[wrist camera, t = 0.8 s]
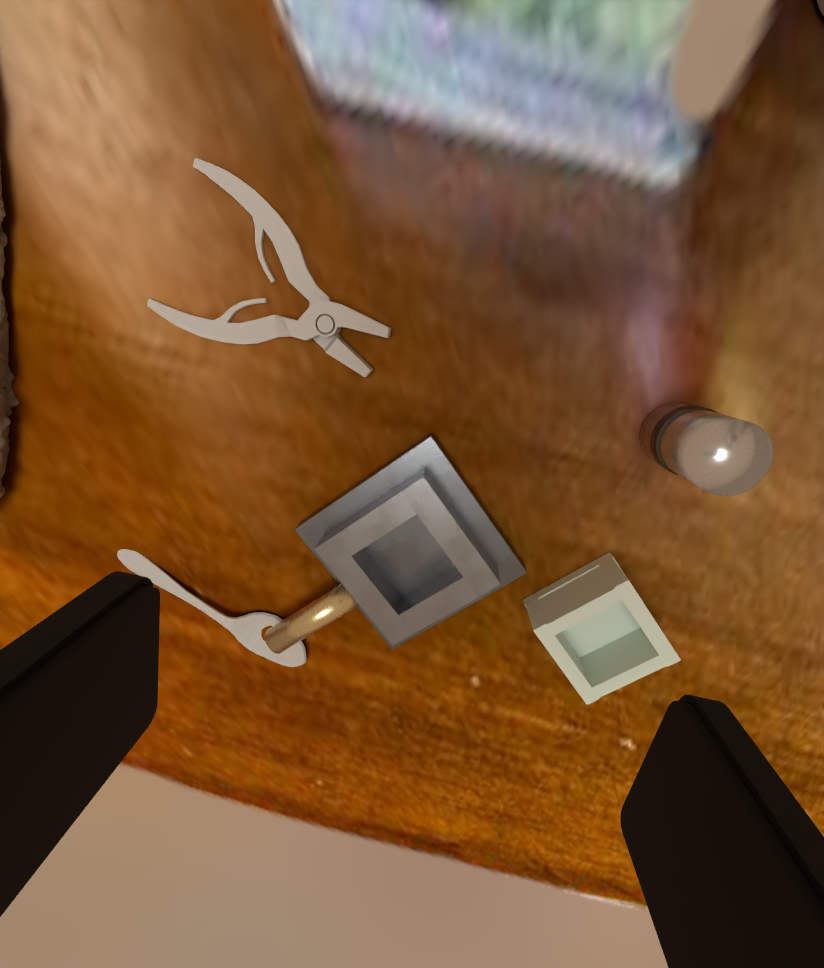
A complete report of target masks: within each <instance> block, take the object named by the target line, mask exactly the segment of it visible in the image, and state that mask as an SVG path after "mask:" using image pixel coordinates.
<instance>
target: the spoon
mask: <svg viewBox="0 0 824 968" xmlns="http://www.w3.org/2000/svg"><path fill="white" fill-rule="evenodd" d="M117 556H118V558H119V560H120V561H121V562H122V563H123V564H124V565H125V566H126V567H127V568H128V569H129V570H131V571H133V572H134V573H136V574H138V575H140V576H143V577H147V578H149V579H151V581H152V583H154V584H156V585H158V586H159V587H161V588H163V589H165V590H167V591H168V592H170V593H172V594H174V595H176V596H178V597H179V598H181V599H183V600H185V601H186V602H188V603H190V604H191V605H193V606H195V607H197V608H198V609H200V610H202V611H203V612H205V613H206V614H207V615H209V616H210V617H212V618H213V619H214V620H216V621H217V622H219V623H220V624H221V625H223V626H224V627H225V628H227V629H228V630H229V631H230V632H231V633H232V634H233V635H234V636H235V637H236V639H237V640H238V641H239V642H240V643H241V644H242V645H243V646H245V647H246V648H248V649H249V650H251V651H252V652H254V653H256V654H258V655H260V656H262V657H265V658H267V659H269V660H271V661H273V662H276V663H278V664H281V665H284V666H288V667H297V666H300V665H302V664H304V663H305V662H306V651H305V647H304V645H303V643H302V641H300V642H298V643H297V644H295V645H293V646H292V647H290V648H288V649H287V650H285V651H283V652H282V653H280V654H276V653H274V652H272V651H271V650H270V649H269V648H268V646H267V644H266V641H264V640H263V639H262V637H261V631H262V629H263V628H265V627H266V626H270V625H272V626H275V625H276V624H278V623H279V622H281V621H283V620H282V619H281V618H279V617H278V616H276V615H272V614H269V613H265V612H257V613H251V614H247V615H244V616H240V617H236V618H235V617H228V616H226V615H224V614H222V613H220V612H219V611H217V610H216V609H214V608H213V607H211V606H210V605H208V604H207V603H205V602H204V601H202V600H201V599H199V598H198V597H196V596H195V595H193V594H192V593H190V592H189V591H187V590H186V589H185V588H184V587H182V586H181V585H180V584H179V583H178V582H176V581H175V580H174V579H173V578H172V577H170V576H169V575H168V574H167V573H166V572H164V571H163V570H162V569H161V568H159V567H158V566H157V565H156V564H154V563H153V562H152V561H150V560H149V559H147V558H146V557H144V556H142V555H141V554H139V553H138V552H136V551H131V550H125V549H122V550H119V551H118V554H117Z"/></svg>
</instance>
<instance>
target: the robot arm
mask: <svg viewBox="0 0 824 968" xmlns="http://www.w3.org/2000/svg"><path fill="white" fill-rule="evenodd" d="M817 3H818V6H819V9H820V11H821V13H822V14H823V16H824V0H817ZM159 615H160V592H159V590H158V589H157V588H154V587H153V583H152V581H151V579H149V578H147V577H143V576H138V575H134V574H129V573H124V572H120V571H117V572H113V573H111V574H109V575H108V576H106V577H105V578H103V579H102V580H100V581H99V582H98V583H96V584H95V585H93V586H92V587H90V588H89V589H87V590H86V591H85V592H83V593H82V594H80V595H79V596H77V597H76V598H75V599H73V600H72V601H70V602H69V603H67V604H66V605H65V606H63V607H62V608H60V609H59V610H57V611H56V612H54V613H53V614H52V615H50V616H49V617H47V618H46V619H44V620H43V621H42V622H40V623H39V624H37V625H36V626H34V627H33V628H32V629H30V630H29V631H27V632H26V633H24V634H23V635H21V636H20V637H19V638H17V639H16V640H14V641H13V642H11V643H10V644H9V645H7V646H6V647H4V648H3V649H1V650H0V916H1V915H2V914H3V913H4V911H5V910H6V909H7V908H8V906H9V905H10V904H11V902H12V901H13V900H14V899H15V897H16V896H17V895H18V893H19V892H20V891H21V890H22V888H23V887H24V886H25V884H26V883H27V882H28V881H29V879H30V878H31V877H32V875H33V874H34V873H35V872H36V870H37V869H38V868H39V866H40V865H41V864H42V862H43V861H44V860H45V859H46V857H47V856H48V855H49V854H50V852H51V851H52V850H53V848H54V847H55V846H56V845H57V843H58V842H59V840H60V839H61V838H62V837H63V836H64V834H65V833H66V832H67V830H68V829H69V827H71V825H72V824H73V823H74V821H75V820H76V819H77V818H78V816H79V815H80V814H81V812H82V811H83V810H84V809H85V807H86V806H87V805H88V803H89V802H90V801H91V800H92V798H93V797H94V796H95V794H96V793H97V792H98V791H99V789H100V788H101V787H102V785H103V784H104V783H105V781H106V780H107V779H108V777H109V776H110V775H111V774H112V773H113V771H114V770H115V769H116V767H117V766H118V765H119V764H120V762H121V761H122V760H123V758H124V757H125V756H126V755H127V753H128V752H129V751H130V749H131V748H132V747H133V746H134V744H135V743H136V742H137V740H138V739H139V738H140V737H141V735H142V734H143V733H144V731H145V730H146V729H147V728H148V726H149V725H150V723H151V721H152V719H153V717H154V715H155V712H156V708H157V697H158V656H159ZM621 828H622V832H623V836H624V838H625V841H626V844H627V847H628V850H629V853H630V856H631V859H632V862H633V865H634V868H635V871H636V874H637V877H638V879H639V882H640V885H641V888H642V891H643V894H644V897H645V900H646V903H647V906H648V909H649V912H650V915H651V918H652V920H653V923H654V926H655V929H656V932H657V935H658V938H659V941H660V944H661V947H662V950H663V953H664V956H665V958H666V961H667V964H668V967H669V968H824V837H823V835H822V834H821V833H820V831H819V830H818V828H817V827H816V826H815V824H814V823H813V822H812V820H811V819H810V818H809V816H808V815H807V814H806V812H805V811H804V810H803V808H802V807H801V805H800V804H799V803H798V801H797V800H796V799H795V797H794V796H793V795H792V793H791V792H790V791H789V789H788V788H787V787H786V785H785V784H784V783H783V781H782V780H781V778H780V777H779V776H778V774H777V773H776V772H775V770H774V769H773V768H772V766H771V765H770V764H769V762H768V761H767V760H766V758H765V757H764V755H763V754H762V753H761V751H760V750H759V749H758V747H757V746H756V745H755V743H754V742H753V741H752V739H751V738H750V737H749V735H748V734H747V732H746V731H745V730H744V728H743V727H742V726H741V724H740V723H739V722H738V720H737V719H736V718H735V716H734V715H733V714H732V712H731V711H730V709H729V708H728V707H727V706H726V705H725V704H724V703H722V702H719V701H715V700H711V699H706V698H702V697H697V696H692V695H684V696H683V697H681V698H680V700H679V701H673V702H672V703H671V704H670V705H669V707H668V709H667V711H666V713H665V716H664V718H663V720H662V722H661V724H660V726H659V729H658V731H657V733H656V735H655V737H654V739H653V742H652V744H651V746H650V748H649V750H648V752H647V755H646V757H645V759H644V761H643V763H642V765H641V768H640V770H639V772H638V774H637V776H636V778H635V781H634V783H633V785H632V787H631V789H630V791H629V794H628V796H627V798H626V800H625V802H624V804H623V807H622V810H621Z"/></svg>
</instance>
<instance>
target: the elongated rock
mask: <svg viewBox="0 0 824 968" xmlns="http://www.w3.org/2000/svg"><path fill="white" fill-rule="evenodd" d="M0 145H1V142H0ZM0 155H1V153H0ZM0 166H1V159H0ZM0 170H1V167H0ZM5 216H6V213H5V210H4V203H3V199H2V184H1V174H0V498H1V497H2V496H3V495H4V493H5V488H4V487H3V485H2V477H3V475H4V473H5V468H6V463H7V458H8V453H9V451H10V448H9V438H8V435H9V430H10V428H9V425H10V423H11V421H10V419H9V418H8V416H9V415H11V414H12V413H13V412H12V410H11V408H12V407H13V406H17V405H18V404H19V401H18V400H17V398H16V396H15V394H14V392H13V390H12V381H13V379H14V377H15V376H14V375H13V373H12V372H11V370H10V368H9V366H8V360H9V357H8V351H9V323H8V320H7V317H8V313H7V311H6V306H5V299H4V297H3V292H2V279H3V277H4V263H5V256H4V249H3V248H4V247H5V246H6V245H7V236H6V234H5V233H4V232H3V229H2V225H1V223H2V221H3V218H4V217H5Z"/></svg>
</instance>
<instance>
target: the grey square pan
mask: <svg viewBox="0 0 824 968" xmlns="http://www.w3.org/2000/svg"><path fill="white" fill-rule="evenodd" d="M295 531H296V532H297V533H298V534H299V536H300V537H301V538H302V539H303V541H304V542H305V543H306V544H307V545H308V547H309V548H310V549H311V550H312V552H313V553H314V554H315V555H316V556H317V558H318V559H319V560H320V561H321V563H322V564H323V565H324V566H325V567H326V569H327V570H328V571H329V572H330V574H331V575H332V576H333V577H334V578H335V580H336V581H337V582H338V583H339V585H338V586H337V587H335V588H334V589H332V590H330V591H329V592H327V593H326V594H324V595H322V596H321V597H319V598H318V599H316V600H314V601H313V602H311V603H310V604H308V605H306V606H305V607H303V608H302V609H300V610H298V611H297V612H295V613H294V614H292V615H290V616H289V617H287V618H286V619H284V620H283V621H281V622H279V623H278V624H276V625H275V626H273V627H271V628H270V629H268V630H267V631H266V633H265V641H266V644H267V646H268V648H269V649H270V650H271V651H272V652H274V653H276V654H280V653H282V652H283V651H285V650H287V649H288V648H290V647H292V646H293V645H295V644H297V643H298V642H300V641H302V640H303V639H305V638H306V637H308V636H310V635H311V634H313V633H315V632H316V631H318V630H320V629H321V628H323V627H325V626H326V625H328V624H330V623H331V622H333V621H335V620H336V619H338V618H340V617H341V616H343V615H344V614H346V613H348V612H349V611H351V610H353V609H354V608H356V607H358V608H359V609H360V610H361V612H362V613H363V614H364V615H365V616H366V618H367V619H368V620H369V621H370V623H371V624H372V625H373V626H374V627H375V629H376V630H377V631H378V632H379V634H380V635H381V636H382V637H383V638H384V640H385V641H386V642H387V643H388V645H389V646H390V647H391V648H392V649H393V648H395V647H397V646H399V645H400V644H402V643H404V642H406V641H408V640H409V639H411V638H413V637H415V636H416V635H418V634H420V633H422V632H423V631H425V630H427V629H429V628H431V627H432V626H434V625H436V624H438V623H439V622H441V621H443V620H445V619H446V618H448V617H450V616H452V615H454V614H455V613H457V612H459V611H461V610H462V609H464V608H466V607H468V606H469V605H471V604H473V603H475V602H477V601H478V600H480V599H482V598H484V597H485V596H487V595H489V594H491V593H492V592H494V591H496V590H498V589H499V588H501V587H503V586H505V585H507V584H508V583H510V582H512V581H514V580H515V579H517V578H519V577H521V576H522V575H524V574H526V573H527V571H526V568H525V565H524V564H523V562H522V561H521V559H520V558H519V557H518V555H517V554H516V552H515V551H514V549H513V548H512V547H511V545H510V544H509V542H508V541H507V539H506V538H505V537H504V535H503V534H502V532H501V531H500V530H499V528H498V527H497V525H496V524H495V522H494V521H493V520H492V518H491V517H490V515H489V514H488V512H487V511H486V510H485V508H484V507H483V505H482V504H481V503H480V501H479V500H478V498H477V497H476V495H475V494H474V493H473V491H472V490H471V488H470V487H469V485H468V484H467V483H466V481H465V480H464V478H463V477H462V475H461V474H460V473H459V471H458V470H457V468H456V467H455V466H454V464H453V463H452V461H451V460H450V458H449V457H448V456H447V454H446V453H445V451H444V450H443V448H442V447H441V446H440V444H439V443H438V441H437V440H436V439H435V437H434V436H433V434H432V433H431V434H429V435H428V436H427V437H425V438H424V439H422V440H421V441H419V442H418V443H416V444H415V445H413V446H412V447H410V448H409V449H408V450H406V451H405V452H403V453H402V454H400V455H399V456H397V457H396V458H394V459H393V460H391V461H390V462H389V463H387V464H386V465H384V466H383V467H381V468H380V469H378V470H377V471H375V472H374V473H372V474H371V475H369V476H368V477H367V478H365V479H364V480H362V481H361V482H359V483H358V484H356V485H355V486H353V487H352V488H350V489H349V490H348V491H346V492H345V493H343V494H342V495H340V496H339V497H337V498H336V499H334V500H333V501H331V502H330V503H329V504H327V505H326V506H324V507H323V508H321V509H320V510H318V511H317V512H315V513H314V514H312V515H311V516H309V517H308V518H307V519H305V520H304V521H302V522H301V523H299V525H298V526H297V527H296V528H295Z"/></svg>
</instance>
